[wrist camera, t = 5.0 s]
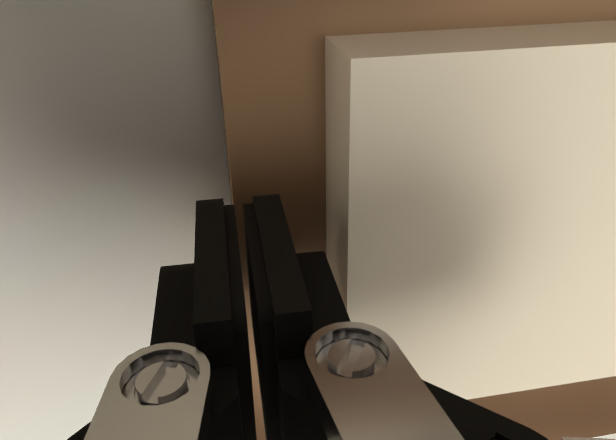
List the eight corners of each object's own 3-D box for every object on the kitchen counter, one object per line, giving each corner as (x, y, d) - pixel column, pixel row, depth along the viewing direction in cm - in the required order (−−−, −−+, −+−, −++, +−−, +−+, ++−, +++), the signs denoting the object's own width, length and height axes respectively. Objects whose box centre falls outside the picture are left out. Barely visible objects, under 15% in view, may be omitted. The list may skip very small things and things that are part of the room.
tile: (325, 36, 10) (350, 58, 9) (700, 15, 11) (790, 31, 10) (326, 358, 14) (345, 419, 12) (607, 318, 15) (660, 368, 14)
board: (185, -265, 10) (182, -330, 8) (823, -250, 12) (991, -297, 10) (253, 416, 19) (261, 495, 16) (620, 359, 21) (680, 421, 18)
